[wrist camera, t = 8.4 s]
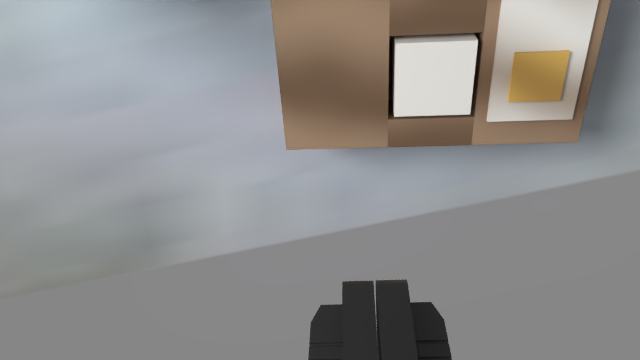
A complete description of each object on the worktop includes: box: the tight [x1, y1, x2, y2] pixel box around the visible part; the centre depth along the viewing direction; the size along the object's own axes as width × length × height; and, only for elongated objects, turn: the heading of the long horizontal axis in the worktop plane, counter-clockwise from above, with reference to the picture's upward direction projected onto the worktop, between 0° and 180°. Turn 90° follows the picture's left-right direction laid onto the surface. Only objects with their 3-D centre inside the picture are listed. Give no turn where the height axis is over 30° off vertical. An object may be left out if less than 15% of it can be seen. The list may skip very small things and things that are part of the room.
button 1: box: [392, 33, 478, 117], centre depth 28 cm, size 4×4×2 cm
